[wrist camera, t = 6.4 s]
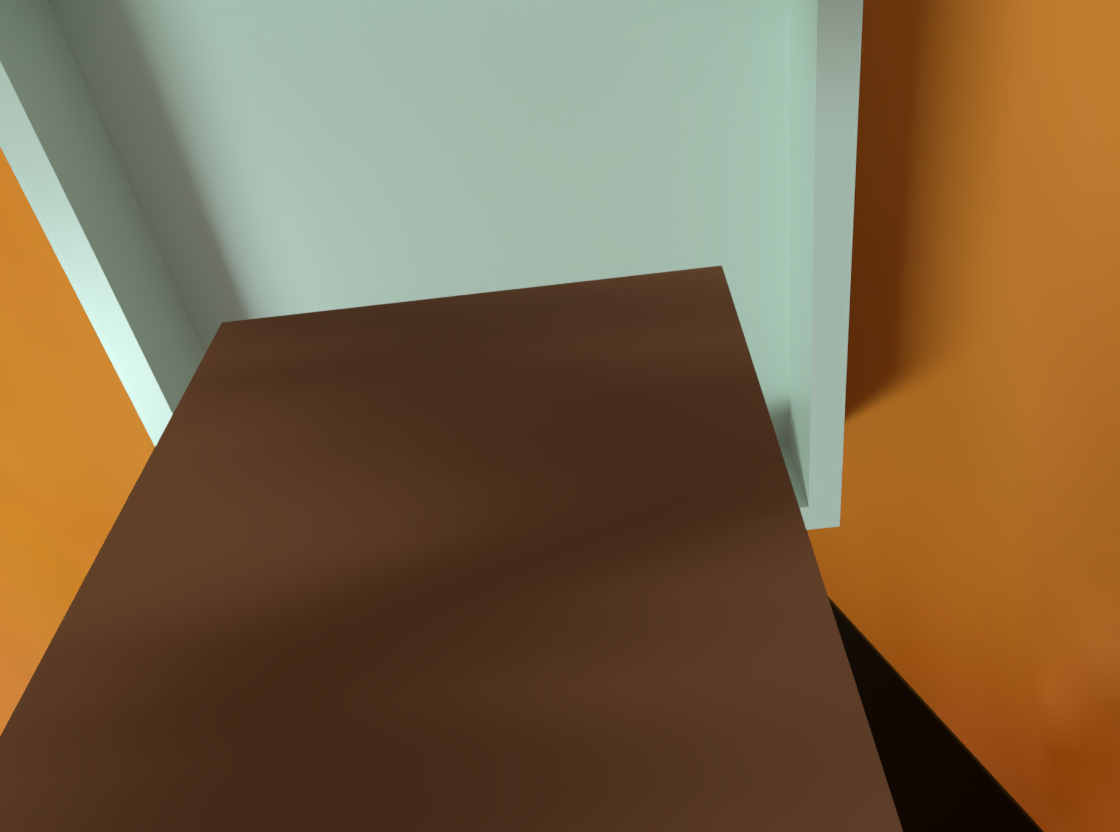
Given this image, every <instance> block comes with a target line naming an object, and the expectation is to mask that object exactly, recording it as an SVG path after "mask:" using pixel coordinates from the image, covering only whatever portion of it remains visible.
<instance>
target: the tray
mask: <svg viewBox="0 0 1120 832" xmlns="http://www.w3.org/2000/svg"><path fill="white" fill-rule="evenodd" d="M862 18H863V0H0V147H1V149H2V151H3V153H4V155H5V157H6V158H7V160H8V162H9V164H10V166H11V168H12V170H13V172H14V174H15V176H16V178H17V180H18V182H19V184H20V186H21V188H22V189H23V191H24V193H25V195H26V197H27V199H28V201H29V203H30V205H31V207H32V209H33V211H34V213H35V215H36V217H37V219H38V221H39V222H40V224H41V226H42V228H43V230H44V232H45V234H46V236H47V238H48V240H49V242H50V244H51V246H52V248H53V250H54V252H55V254H56V255H57V257H58V259H59V261H60V263H61V265H62V267H63V269H64V271H65V273H66V275H67V277H68V279H69V281H70V283H71V285H72V286H73V288H74V290H75V292H76V294H77V296H78V298H79V300H80V302H81V304H82V306H83V308H84V310H85V312H86V314H87V316H88V318H89V319H90V321H91V323H92V325H93V327H94V329H95V331H96V333H97V335H98V337H99V339H100V341H101V343H102V345H103V347H104V349H105V351H106V352H107V354H108V356H109V358H110V360H111V362H112V364H113V366H114V368H115V370H116V372H117V374H118V376H119V378H120V380H121V382H122V383H123V385H124V387H125V389H126V391H127V393H128V395H129V397H130V399H131V401H132V403H133V405H134V407H135V409H136V411H137V413H138V415H139V416H140V418H141V420H142V422H143V424H144V426H145V428H146V430H147V432H148V434H149V436H150V438H151V440H152V442H153V444H154V446H155V447H156V445H157V443H158V441H159V439H160V437H161V435H162V434H163V432H164V430H165V428H166V426H167V424H168V422H169V420H170V419H171V417H172V415H173V413H174V411H175V409H176V407H177V406H178V404H179V402H180V400H181V398H182V396H183V394H184V392H185V391H186V389H187V387H188V385H189V383H190V381H191V379H192V377H193V376H194V374H195V372H196V370H197V368H198V366H199V364H200V363H201V361H202V359H203V357H204V355H205V353H206V351H207V349H208V348H209V346H210V344H211V342H212V340H213V338H214V336H215V335H216V333H217V331H218V329H219V327H220V325H221V323H222V322H230V321H239V320H248V319H257V318H265V317H274V316H283V315H292V314H300V313H309V312H318V311H327V310H336V309H344V308H353V307H362V306H371V305H379V304H388V303H397V302H406V301H415V300H423V299H432V298H441V297H450V296H458V295H467V294H476V293H485V292H494V291H502V290H511V289H520V288H529V287H537V286H546V285H555V284H564V283H573V282H581V281H590V280H599V279H608V278H616V277H625V276H634V275H643V274H651V273H660V272H669V271H678V270H687V269H695V268H704V267H713V266H722V268H723V271H724V274H725V277H726V280H727V283H728V286H729V290H730V293H731V296H732V299H733V302H734V305H735V308H736V311H737V315H738V318H739V321H740V324H741V327H742V330H743V333H744V336H745V340H746V343H747V346H748V349H749V352H750V355H751V358H752V361H753V365H754V368H755V371H756V374H757V377H758V380H759V383H760V386H761V390H762V393H763V396H764V399H765V402H766V405H767V408H768V411H769V415H770V418H771V421H772V424H773V427H774V430H775V433H776V436H777V439H778V443H779V446H780V449H781V452H782V455H783V458H784V461H785V464H786V468H787V471H788V474H789V477H790V480H791V483H792V486H793V489H794V493H795V496H796V499H797V502H798V505H799V508H800V511H801V514H802V518H803V521H804V524H805V527H806V530H809V529H819V528H828V527H838V526H840V507H841V485H842V463H843V440H844V418H845V396H846V374H847V352H848V329H849V307H850V285H851V263H852V240H853V218H854V196H855V174H856V152H857V129H858V107H859V85H860V63H861V40H862Z"/></svg>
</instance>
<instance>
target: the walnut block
mask: <svg viewBox="0 0 1120 832" xmlns="http://www.w3.org/2000/svg"><path fill="white" fill-rule="evenodd" d="M0 832H903V830H902V827H901V824H900V821H899V817H898V814H897V811H896V808H895V805H894V802H893V799H892V796H891V792H890V789H889V786H888V783H887V780H886V777H885V774H884V771H883V767H882V764H881V761H880V758H879V755H878V752H877V749H876V746H875V742H874V739H873V736H872V733H871V730H870V727H869V724H868V721H867V717H866V714H865V711H864V708H863V705H862V702H861V699H860V696H859V692H858V689H857V686H856V683H855V680H854V677H853V674H852V671H851V667H850V664H849V661H848V658H847V655H846V652H845V649H844V646H843V643H842V639H841V636H840V633H839V630H838V627H837V624H836V621H835V618H834V614H833V611H832V608H831V605H830V602H829V599H828V596H827V593H826V589H825V586H824V583H823V580H822V577H821V574H820V571H819V568H818V564H817V561H816V558H815V555H814V552H813V549H812V546H811V543H810V539H809V536H808V533H807V530H806V527H805V524H804V521H803V518H802V514H801V511H800V508H799V505H798V502H797V499H796V496H795V493H794V489H793V486H792V483H791V480H790V477H789V474H788V471H787V468H786V464H785V461H784V458H783V455H782V452H781V449H780V446H779V443H778V439H777V436H776V433H775V430H774V427H773V424H772V421H771V418H770V415H769V411H768V408H767V405H766V402H765V399H764V396H763V393H762V390H761V386H760V383H759V380H758V377H757V374H756V371H755V368H754V365H753V361H752V358H751V355H750V352H749V349H748V346H747V343H746V340H745V336H744V333H743V330H742V327H741V324H740V321H739V318H738V315H737V311H736V308H735V305H734V302H733V299H732V296H731V293H730V290H729V286H728V283H727V280H726V277H725V274H724V271H723V268H722V266H713V267H704V268H695V269H687V270H678V271H669V272H660V273H651V274H643V275H634V276H625V277H616V278H608V279H599V280H590V281H581V282H573V283H564V284H555V285H546V286H537V287H529V288H520V289H511V290H502V291H494V292H485V293H476V294H467V295H458V296H450V297H441V298H432V299H423V300H415V301H406V302H397V303H388V304H379V305H371V306H362V307H353V308H344V309H336V310H327V311H318V312H309V313H300V314H292V315H283V316H274V317H265V318H257V319H248V320H239V321H230V322H222V323H221V325H220V327H219V329H218V331H217V333H216V335H215V336H214V338H213V340H212V342H211V344H210V346H209V348H208V349H207V351H206V353H205V355H204V357H203V359H202V361H201V363H200V364H199V366H198V368H197V370H196V372H195V374H194V376H193V377H192V379H191V381H190V383H189V385H188V387H187V389H186V391H185V392H184V394H183V396H182V398H181V400H180V402H179V404H178V406H177V407H176V409H175V411H174V413H173V415H172V417H171V419H170V420H169V422H168V424H167V426H166V428H165V430H164V432H163V434H162V435H161V437H160V439H159V441H158V443H157V445H156V447H155V449H154V450H153V452H152V454H151V456H150V458H149V460H148V462H147V463H146V465H145V467H144V469H143V471H142V473H141V475H140V477H139V478H138V480H137V482H136V484H135V486H134V488H133V490H132V491H131V493H130V495H129V497H128V499H127V501H126V503H125V505H124V506H123V508H122V510H121V512H120V514H119V516H118V518H117V520H116V521H115V523H114V525H113V527H112V529H111V531H110V533H109V534H108V536H107V538H106V540H105V542H104V544H103V546H102V548H101V549H100V551H99V553H98V555H97V557H96V559H95V561H94V562H93V564H92V566H91V568H90V570H89V572H88V574H87V576H86V577H85V579H84V581H83V583H82V585H81V587H80V589H79V591H78V592H77V594H76V596H75V598H74V600H73V602H72V604H71V605H70V607H69V609H68V611H67V613H66V615H65V617H64V619H63V620H62V622H61V624H60V626H59V628H58V630H57V632H56V633H55V635H54V637H53V639H52V641H51V643H50V645H49V647H48V648H47V650H46V652H45V654H44V656H43V658H42V660H41V662H40V663H39V665H38V667H37V669H36V671H35V673H34V675H33V676H32V678H31V680H30V682H29V684H28V686H27V688H26V690H25V691H24V693H23V695H22V697H21V699H20V701H19V703H18V704H17V706H16V708H15V710H14V712H13V714H12V716H11V718H10V719H9V721H8V723H7V725H6V727H5V729H4V731H3V733H2V734H1V736H0Z"/></svg>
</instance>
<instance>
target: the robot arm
mask: <svg viewBox="0 0 1120 832" xmlns="http://www.w3.org/2000/svg"><path fill="white" fill-rule="evenodd" d="M828 599H829V602H830V605H831V608H832V611H833V614H834V618H835V621H836V624H837V627H838V630H839V633H840V636H841V639H842V643H843V646H844V649H845V652H846V655H847V658H848V661H849V664H850V667H851V671H852V674H853V677H854V680H855V683H856V686H857V689H858V692H859V696H860V699H861V702H862V705H863V708H864V711H865V714H866V717H867V721H868V724H869V727H870V730H871V733H872V736H873V739H874V742H875V746H876V749H877V752H878V755H879V758H880V761H881V764H882V767H883V771H884V774H885V777H886V780H887V783H888V786H889V789H890V792H891V796H892V799H893V802H894V805H895V808H896V811H897V814H898V817H899V821H900V824H901V827H902V830H903V832H1044V831H1043V830H1042V829H1041V828H1040V827H1039V826H1038V825H1037V824H1036V823H1035V821H1034V820H1033V819H1032V818H1031V817H1030V816H1029V815H1028V814H1027V813H1026V812H1025V811H1024V809H1023V808H1022V807H1021V806H1020V805H1019V804H1018V803H1017V802H1016V801H1015V800H1014V799H1013V797H1012V796H1011V795H1010V794H1009V793H1008V792H1007V791H1006V790H1005V789H1004V788H1003V787H1002V785H1001V784H1000V783H999V782H998V781H997V780H996V779H995V778H994V777H993V776H992V775H991V773H990V772H989V771H988V770H987V769H986V768H985V767H984V766H983V765H982V764H981V763H980V761H979V760H978V759H977V758H976V757H975V756H974V755H973V754H972V753H971V752H970V751H969V749H968V748H967V747H966V746H965V745H964V744H963V743H962V742H961V741H960V740H959V739H958V737H957V736H956V735H955V734H954V733H953V732H952V731H951V730H950V729H949V728H948V727H947V725H946V724H945V723H944V722H943V721H942V720H941V719H940V718H939V717H938V716H937V715H936V713H935V712H934V711H933V710H932V709H931V708H930V707H929V706H928V705H927V704H926V703H925V702H924V700H923V699H922V698H921V697H920V696H919V695H918V694H917V693H916V692H915V691H914V690H913V688H912V687H911V686H910V685H909V684H908V683H907V682H906V681H905V680H904V679H903V678H902V676H901V675H900V674H899V673H898V672H897V671H896V670H895V669H894V668H893V667H892V666H891V664H890V663H889V662H888V661H887V660H886V659H885V658H884V657H883V656H882V655H881V654H880V652H879V651H878V650H877V649H876V648H875V647H874V646H873V645H872V644H871V643H870V642H869V640H868V639H867V638H866V637H865V636H864V635H863V634H862V633H861V632H860V631H859V630H858V628H857V627H856V626H855V625H854V624H853V623H852V622H851V621H850V620H849V619H848V618H847V616H846V615H845V614H844V613H843V612H842V611H841V610H840V609H839V608H838V607H837V606H836V604H835V603H834V602H833V601H832V600H831V599H830V598H829V597H828Z"/></svg>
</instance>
